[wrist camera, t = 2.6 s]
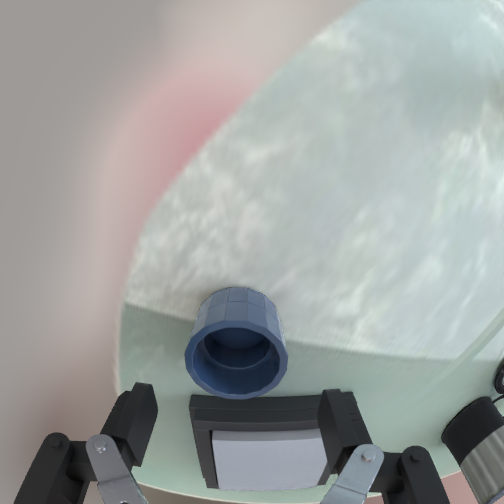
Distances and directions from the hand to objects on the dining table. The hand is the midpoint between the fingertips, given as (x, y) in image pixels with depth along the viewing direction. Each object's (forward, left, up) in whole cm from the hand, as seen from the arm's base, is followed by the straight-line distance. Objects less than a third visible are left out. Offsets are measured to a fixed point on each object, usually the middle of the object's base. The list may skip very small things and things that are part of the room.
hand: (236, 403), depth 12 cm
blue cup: (0, 0, -8) cm, 8 cm away
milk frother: (+33, -15, -8) cm, 37 cm away
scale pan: (+3, -14, -6) cm, 15 cm away
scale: (+3, -14, -8) cm, 16 cm away
